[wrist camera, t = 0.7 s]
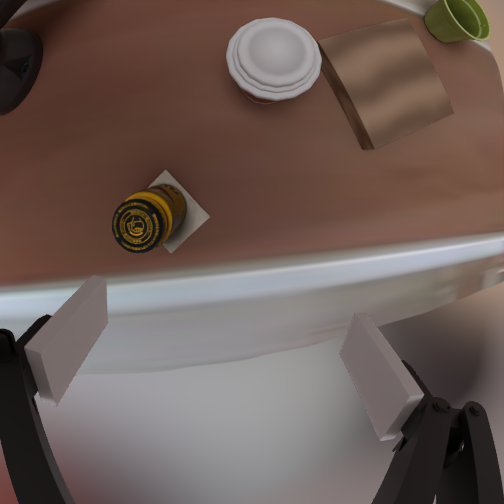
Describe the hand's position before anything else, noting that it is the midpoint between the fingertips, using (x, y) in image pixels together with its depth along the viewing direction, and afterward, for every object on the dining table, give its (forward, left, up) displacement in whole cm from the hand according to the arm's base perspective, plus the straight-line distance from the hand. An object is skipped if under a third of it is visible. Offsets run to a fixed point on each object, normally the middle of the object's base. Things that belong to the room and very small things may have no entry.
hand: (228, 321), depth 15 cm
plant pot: (-14, +44, -25) cm, 53 cm away
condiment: (-5, -7, -25) cm, 27 cm away
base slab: (-8, +27, -25) cm, 38 cm away
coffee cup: (-14, +12, -25) cm, 31 cm away
